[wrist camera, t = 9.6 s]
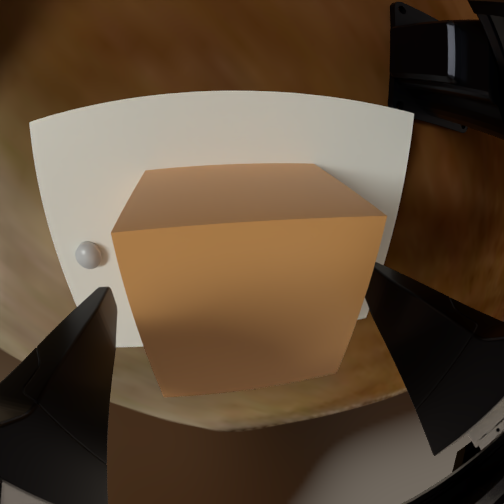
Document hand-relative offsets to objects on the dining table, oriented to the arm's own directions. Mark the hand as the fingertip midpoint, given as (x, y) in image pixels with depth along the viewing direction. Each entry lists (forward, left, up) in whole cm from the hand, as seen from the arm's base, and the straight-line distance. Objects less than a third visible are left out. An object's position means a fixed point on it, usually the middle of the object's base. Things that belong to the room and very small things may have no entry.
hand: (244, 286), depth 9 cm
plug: (0, 0, -5) cm, 5 cm away
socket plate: (0, 0, -5) cm, 5 cm away
